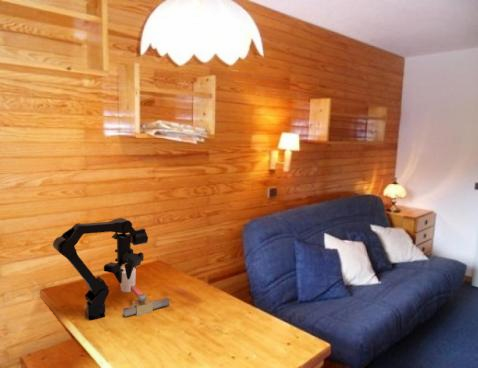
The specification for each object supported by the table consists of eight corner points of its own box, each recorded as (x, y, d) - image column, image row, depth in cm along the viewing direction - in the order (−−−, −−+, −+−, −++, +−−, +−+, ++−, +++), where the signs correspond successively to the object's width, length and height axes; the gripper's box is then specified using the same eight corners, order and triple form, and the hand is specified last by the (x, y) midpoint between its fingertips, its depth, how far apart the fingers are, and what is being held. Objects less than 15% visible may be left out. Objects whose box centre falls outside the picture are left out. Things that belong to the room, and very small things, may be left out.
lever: (147, 300, 161) (147, 296, 160) (140, 301, 159) (139, 297, 159) (136, 289, 172) (136, 285, 171) (129, 290, 170) (129, 286, 170)
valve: (126, 319, 155) (126, 307, 154) (121, 313, 160) (121, 301, 159) (170, 307, 166) (170, 296, 165) (165, 302, 171) (165, 291, 170)
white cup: (133, 293, 180) (133, 273, 179) (117, 292, 180) (116, 273, 179) (138, 286, 188) (137, 267, 187) (122, 286, 188) (122, 267, 187)
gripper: (122, 256, 151) (123, 292, 153) (152, 244, 167) (152, 277, 169) (102, 251, 155) (103, 287, 157) (132, 240, 172) (133, 273, 174)
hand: (124, 281), depth 164 cm, fingers open, 5 cm apart
